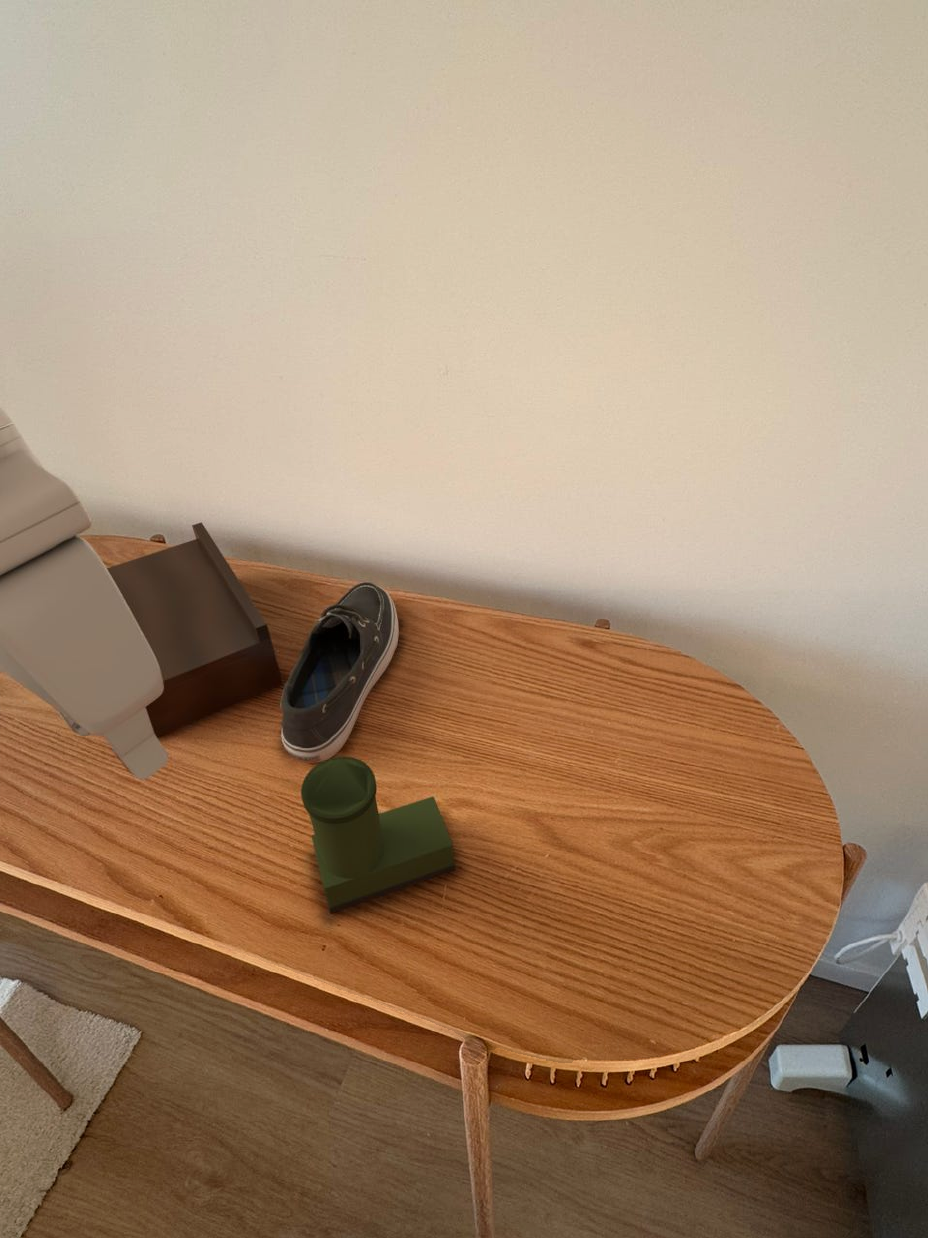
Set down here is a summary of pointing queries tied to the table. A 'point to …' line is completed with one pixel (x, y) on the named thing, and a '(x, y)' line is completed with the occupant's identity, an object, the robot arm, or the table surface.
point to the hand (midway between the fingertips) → (119, 746)
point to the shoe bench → (197, 631)
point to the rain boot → (370, 835)
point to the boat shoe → (337, 672)
